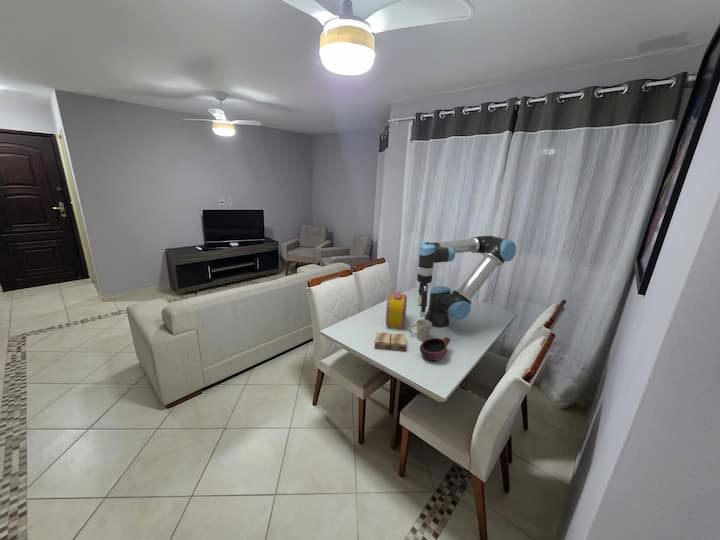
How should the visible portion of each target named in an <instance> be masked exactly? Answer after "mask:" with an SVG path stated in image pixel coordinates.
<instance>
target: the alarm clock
mask: <svg viewBox="0 0 720 540" xmlns="http://www.w3.org/2000/svg"><path fill="white" fill-rule="evenodd" d="M407 300H408V297H407V295H406V294H405V293H404V294H403V293H402V292H401V291H395V292H394V293H393V292H390V293H389V294H388V298H387V303H386V311H385V326H387V327H392V328H393V327H394V328H400V329H403V328H405V327H404V326H405V323H406V313H407V311H406V310H407Z"/></svg>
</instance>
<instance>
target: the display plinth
mask: <svg viewBox="0 0 720 540" xmlns="http://www.w3.org/2000/svg"><path fill="white" fill-rule="evenodd" d="M406 339H407V338H406V334H405V333H393V332H391V333H390V332H383V331H376V332H375V339H374V350H382V351H383V350H384V351H394V352H405V353H406V349H407V340H406Z"/></svg>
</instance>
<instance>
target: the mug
mask: <svg viewBox="0 0 720 540" xmlns="http://www.w3.org/2000/svg"><path fill="white" fill-rule="evenodd" d="M412 327H416V333H415V332H413V331H412V330H411V329H412ZM432 328H433V326H432V322H430V321H429V320H425V318H424V319H421V318H420V319H418V320H417V321H416V323H411V324H410V325H409V326H408V329H407V330H408V332H409V333H410V334H411V335H412V336H413V335H414V336H416V337H417V340H418V341H420V342H423V341H425V340H428V339H430V335H431V330H432Z"/></svg>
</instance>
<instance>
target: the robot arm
mask: <svg viewBox="0 0 720 540" xmlns="http://www.w3.org/2000/svg"><path fill="white" fill-rule="evenodd" d="M418 248H419V249H418V250H419V255H418V267H417V268H416V270H417V273H418V274H416V275H417V276H416V277H417V278H416V280H417V282H418V283H419V289H418V301H417V306H418V307H420V310H419V318H424V319H425V320H429V321H430V322H432V327H436V328H446V327H448V326H449V325H450V318H452V319H454V320H459V321H460V320H464V318H466V317H467V316H468V315H470V312H471V310H472V307H471V304H472V298H473V297H474V295H475V294H477V292H478V291H479V290H480V288H481V287H482V286H483V285H484V283H485V282H486V281H487V279H488V278H489V277H490V276H491V275H492V273H493V272H494V271H495V269H496V268H497V267H499V266H502V265H503V264H505V262H511V261H512V260H513V259H514V258H515V257H516V255H517V254H516V253H517V246H516V244H515V242H514V241H513V240H511V239H508V238H501V237H498V236H493V235H480V236H471V237H469V239H468V238H467V239H457V240H448V241H436V242H429V241H423V242H421V243H420V245H419V247H418ZM462 253H472V254H474V253H475V254H476V253H477V254H482V255H483V257H482V259H481V260H480V261H479V263H478V264H477V265H476V267H475V268H474V269H473V270H472V272H471V273H470V274H468V275H469V276H467V278H466V279H465V280H464V281H463V283H462V284H461V286H460V287H459V288H458V289H454V290H453V291H452V289H451V288H450V287H447V286H443V285H441V286H440V285H439V286H438V285H437V286H433V287H431V288H430V292H429V302H428V291H429V290H428V289H429V286H428V284H430V283H432V281H433V272H434V265H435V264H436V263H448V262H452V261H454V259H455V257H456V254H462ZM427 307H428V309H427ZM426 311H427V312H426Z"/></svg>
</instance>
